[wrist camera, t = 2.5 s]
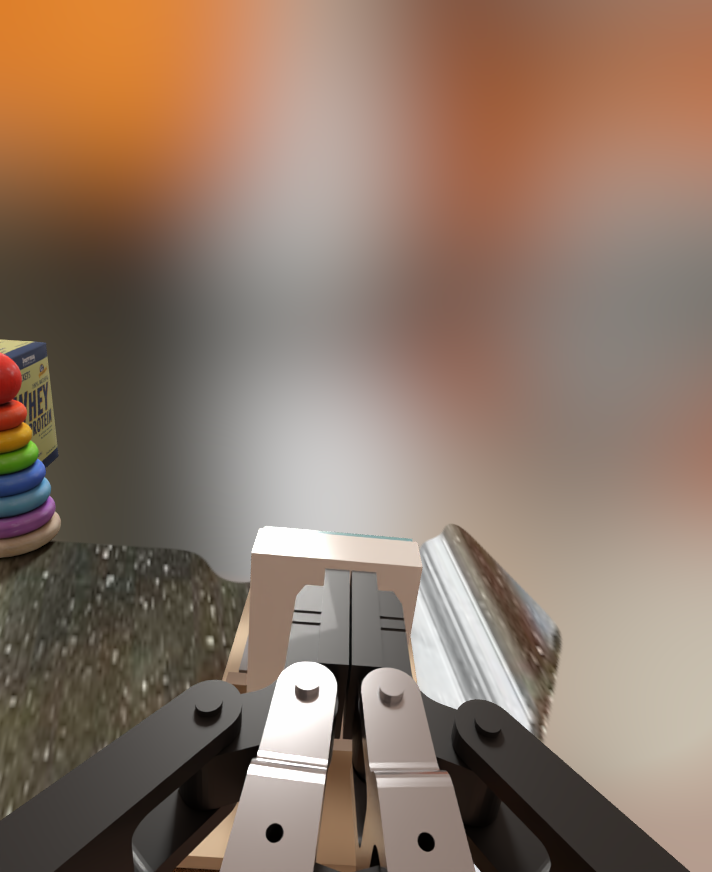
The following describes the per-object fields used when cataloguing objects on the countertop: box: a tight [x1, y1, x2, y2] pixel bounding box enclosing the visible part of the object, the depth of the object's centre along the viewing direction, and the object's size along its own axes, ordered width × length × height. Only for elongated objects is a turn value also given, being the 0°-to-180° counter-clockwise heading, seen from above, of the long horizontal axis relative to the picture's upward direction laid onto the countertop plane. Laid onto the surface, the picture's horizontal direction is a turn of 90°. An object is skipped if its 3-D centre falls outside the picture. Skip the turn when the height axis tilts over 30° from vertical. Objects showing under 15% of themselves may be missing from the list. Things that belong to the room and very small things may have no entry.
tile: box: [247, 526, 422, 751], centre depth 30 cm, size 3×9×14 cm, turn 90°
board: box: [177, 590, 417, 872], centre depth 36 cm, size 22×14×2 cm, turn 0°
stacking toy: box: [0, 353, 61, 558], centre depth 46 cm, size 8×8×19 cm
